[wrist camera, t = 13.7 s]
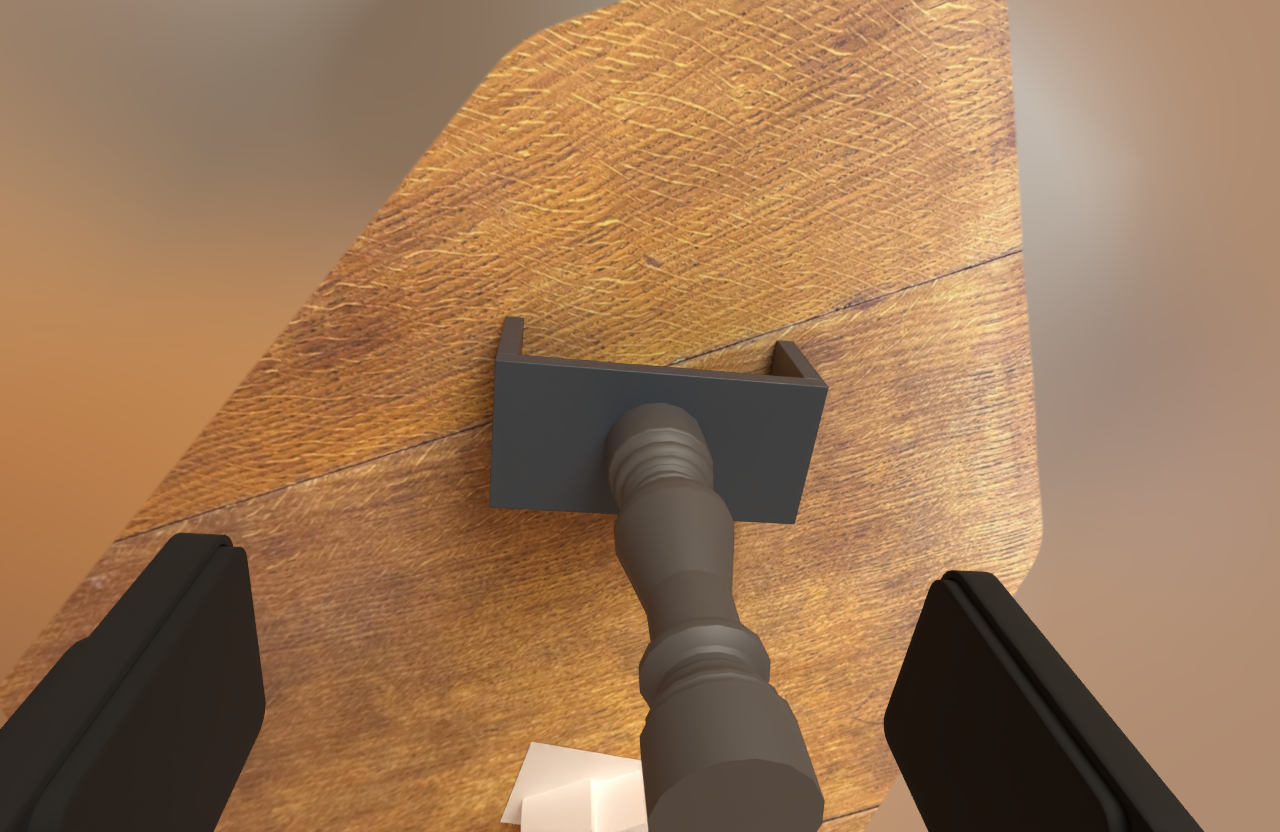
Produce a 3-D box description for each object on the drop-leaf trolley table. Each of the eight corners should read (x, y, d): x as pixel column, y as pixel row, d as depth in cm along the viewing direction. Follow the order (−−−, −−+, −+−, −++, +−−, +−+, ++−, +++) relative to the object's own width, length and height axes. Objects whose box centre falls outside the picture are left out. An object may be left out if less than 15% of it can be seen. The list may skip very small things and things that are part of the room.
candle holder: (612, 396, 44) (656, 747, 22) (713, 407, 45) (856, 756, 23) (598, 485, 47) (625, 882, 24) (694, 495, 48) (805, 884, 25)
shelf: (499, 447, 54) (489, 507, 47) (505, 316, 50) (495, 360, 43) (766, 465, 56) (794, 524, 49) (793, 341, 52) (829, 386, 45)
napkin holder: (499, 823, 72) (494, 882, 66) (529, 741, 67) (526, 798, 62) (646, 843, 75) (652, 901, 70) (684, 766, 70) (693, 822, 65)
